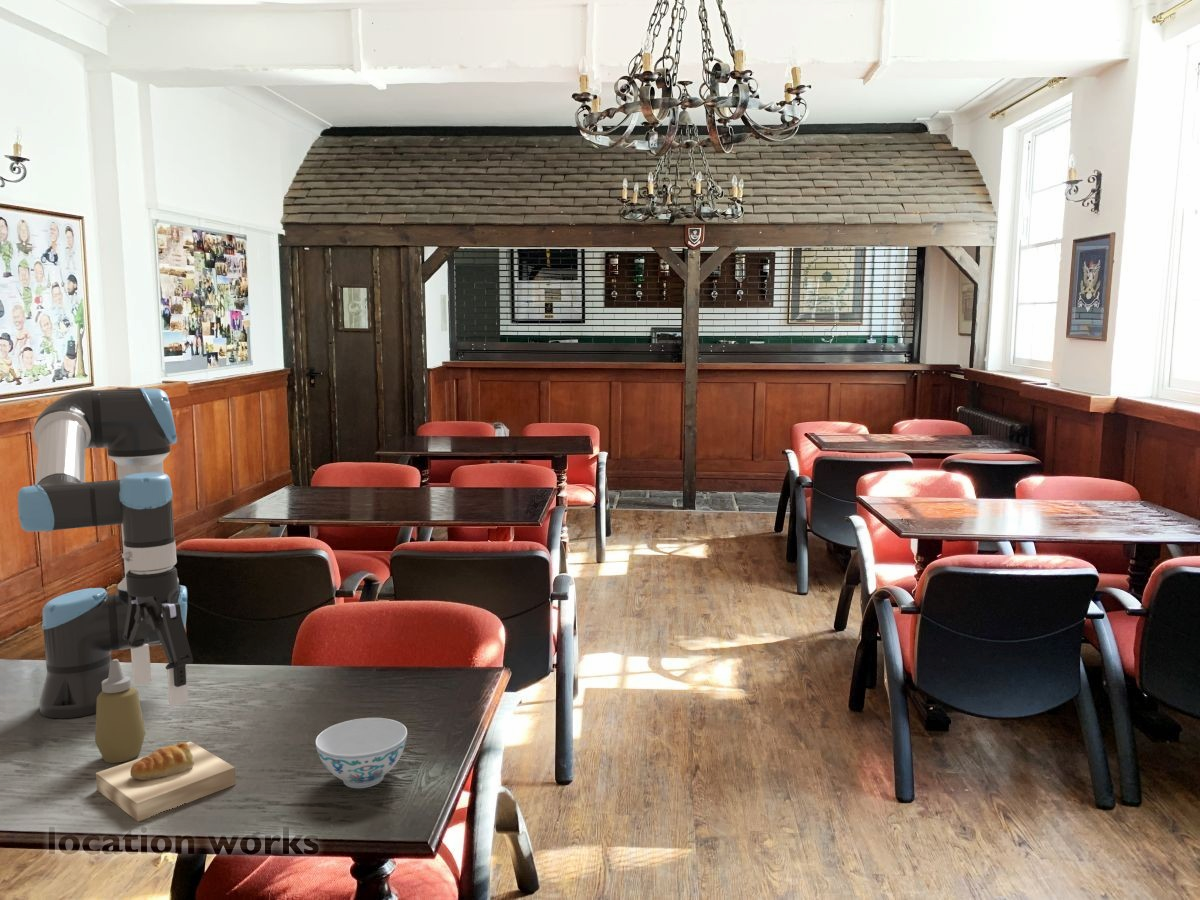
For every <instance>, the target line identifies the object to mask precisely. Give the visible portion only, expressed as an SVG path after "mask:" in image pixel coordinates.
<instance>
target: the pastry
mask: <svg viewBox="0 0 1200 900" xmlns="http://www.w3.org/2000/svg"><path fill="white" fill-rule="evenodd" d="M145 756H146V757H145ZM145 756H143V758H142V757H141V758H142V759H141V760H140V761H138V762H136V763H135V764H133V766H132V768H131V773H130V775H131V776H132V777H133V778H136V779H139V780H152V779H155V778H162V777H166V776H172V775H175V774H177V773H179V772H181V773H183V772H186V771H188V770H190V769H191V768H193V765H194V758H193V755H192V753H191V751H190V748H189V746H188V744H187V742H183V741H179V742H178V743H177V744H174V745H167V746H165V747H159V748H158V749H156V750H155V751H154V752H152V753H151V754H149V756H148V755H145Z"/></svg>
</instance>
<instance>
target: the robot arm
mask: <svg viewBox="0 0 1200 900" xmlns="http://www.w3.org/2000/svg"><path fill="white" fill-rule="evenodd" d="M174 420H175V419H174V415H173V412H172V407H171V403H170V399H169V395H168V394H167V393H166V391H164V390H162V389H160V388H146V387H143V388H142V387H140V388H138V387H137V388H135V387H134V388H119V389H118V388H116V389H99V390H98V389H97V390H96V389H95V390H93V389H89V390H88V389H87V390H78V391H74V392H72V393H69V394H67V395H64V396H62V397H60V398H58V399H56V400H55V401H53V402H52V403H50V404H49V405H48V406H47V407H46V408H44V409H43V410H42V412H41V413H39V415H38V417H37V418H36V421H35V423H34V426H33V432H32V433H33V434H32V435H33V442H34V443H35V445H36V447H37V448H38V449H37V459H36V469H35V478H34V479H35V480H34V481H35V482H34V484H33V485H28V486H23V487H21V488H20V489H19V490H18V492H17V509H18V510H17V511H18V519H19V524H20V527H21V529H22V530H23V531H25V532H28V533H29V532H31V533H33V532H34V533H35V532H47V533H48V532H53V531H60V530H62V531H63V530H70V529H72V530H73V529H79V528H81V529H82V528H83V529H84V528H90V527H104V526H115V525H121V539H122V550H123V551H122V552H123V553H122V554H121V558H122V559H123V567H124V578H122V579H121V581H120V582H119V583H118V584H117V593H113V594H108V591H106V589H105V588H103V587H95V588H93V587H89V588H83V589H79V590H78V589H77V590H74V591H70V592H67V593H63V594H61V595H59V596H56V597H54V598H52V599H50V600H49V601H48V602H46V603H45V604H44V606H43V608H42V624H41V629H42V630H43V639H44V652H45V663H46V666H45V667H46V677H45V680H44V683H43V686H42V691H41V694H40V697H39V703H38V704H39V713H40V715H42V716H43V717H45V718H46V717H47V718H51V719H73V718H80V717H81V718H82V717H85V716H90V715H94V714H95V715H96V706H97V696H98V695H99V694H100V693H101V692H103V691H102V681H103V680H105V679H107V678H108V676H109V670H110V664H111V660H112V652H115V651H122V650H128V649H129V650H130V655H131V657H130V658H131V671H132V684H133V686H134V687H136V686H140V685H144V684H146V683H151V682H152V670H151V669H152V667H151V656H150V646H156V645H157V646H160V645H161V647H162V649H163V652H164V654H165V656H166V659H167V664H166V665H165V669H166V672H167V673H166V674H167V687H168V688H167V689H168V703H169V707H171V708H172V707H177V706H180V705H183V704H186V703H189V692H188V691H189V689H188V678H187V675H188V674H187V665H189V664H192V663H193V662H194V658H193V654H192V650H191V647H190V644H189V640H188V635H187V632H186V624H187V614H188V588H187V586H185V585H181V584H180V580H179V577H178V569H177V568H176V567H175V565H176V564H177V563H178V560H177V545H176V539H175V529H174V528H175V527H174V525H175V523H174V509H173V508H174V507H173V505H174V504H173V498H174V497H173V496H174V493H173V488H172V483H171V478H170V476H169V475H168V474H167V473H164V472H165V471H164V460H165V459H167V457H168V456H169V455H170V454H171V445H174V444H177V442H178V437H177V431H176V425H175V421H174ZM94 448H95V449H102V448H106V449H107V457H108V458H109V459H110V460H112V461H113V462H114V463H115V465H116V471H117V479H112V480H109V479H108V480H99V481H86V450H87V449H94Z"/></svg>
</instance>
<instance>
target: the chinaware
mask: <svg viewBox="0 0 1200 900" xmlns="http://www.w3.org/2000/svg"><path fill="white" fill-rule="evenodd" d="M407 738H408V729H407V727H406V726H405V725H404V724H403V723H402V722H399V721H397V720H395V719H389V718H386V717H385V718H383V717H365V718H364V717H363V718H355V719H350V720H346V721H343V722H338V723H336V724H334V725H333V724H332V725H331V726H329V727H326V729H324V730H322V731H321V732H320V733H319V734H318V735H317V736H316V739H315V747H316V751H317V754H318V757H319V759H320V761H321V762H322V764H323V765H324V768H325V769H326V770H327V771H328V772H329V773H330V774H331V775H333V776H334V777H336V778H338V779H339V780H342V781H343V784H344V785H345V786H346V787H348V788H351V789H366V788H370V787H373V786H375V785H378V784H381V782H382V781H383V780H384V778H385V775H387V773H389V772H390V771H391V770H392V769H393V768H394V767H395V766H396V765H397V763H398V762H399V760H400V759H401V756H402V755H403V752H404V750H405V746H406V744H407V743H406V742H407Z"/></svg>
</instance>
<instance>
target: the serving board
mask: <svg viewBox="0 0 1200 900" xmlns="http://www.w3.org/2000/svg"><path fill="white" fill-rule="evenodd" d="M186 743H187V744H188V746H189V748H190V751H191V753H192V755H193V758H194V765H193V768H191V769H190V770H188V771H186V772H183V773H181V772H179V773H177V774H175V775H172V776H166V777H162V778H155V779H152V780H139V779H136V778H133V777H132V776H131V775H130V773H131V768H132V766H133V764H135V763H136V762H138V761H140V760H141V759H142V758H143V757H146V756H149V755H150V754H149V755H145V756H143V757H140V758H137V759H132V760H129V761H128V762H127V761H126V762H125V763H124V762H123V763H122V764H119V765H116V766H112V767H110V768H106V769H103V770H100V771H98V772H95V778H96V790H97V791H98V792H99V793H100V794H101V795H102V796H104V797H105V798H107V799H108V800H110V802H112V803H113V804H115V805H116V806H117V807H118V808H120V809H121V810H123V812H125V813H126V814H128V815H129V816H130V817H131V818H133V819H134V820H136V821H137V822H141V821H144V820H146V819H149V818H152V817H154V816H156V815H155V814H157V815H159V814H158V813H160V812H162V813H164V812H163V811H165V810H168V811H170V810H172V808H173V809H175V808H178V807H180V805H181V806H183V805H185V804H184V803H186V804H188V803H191V802H193V801H196V800H198V799H201V798H203V797H206V796H209V795H211V794H215V793H217V792H219V791H222V790H225V789H228V788H230V787H232V786H235V785H236V784H237V779H236V778H237V777H236V767H235V766H233V765H232V764H231V763H228V762H227V761H225V760H224V759H222V758H220V757H218V756H217V755H215V754H213V753H212V752H210V751H208V750H206V749H204V748H203V747H201V746H199V744H196V743H194V742H192V741H191V740H190V741H187V742H186ZM182 804H183V805H182ZM177 806H178V807H177ZM169 809H170V810H169ZM165 812H166V811H165ZM160 814H161V813H160ZM153 815H154V816H153ZM151 816H152V817H151Z"/></svg>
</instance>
